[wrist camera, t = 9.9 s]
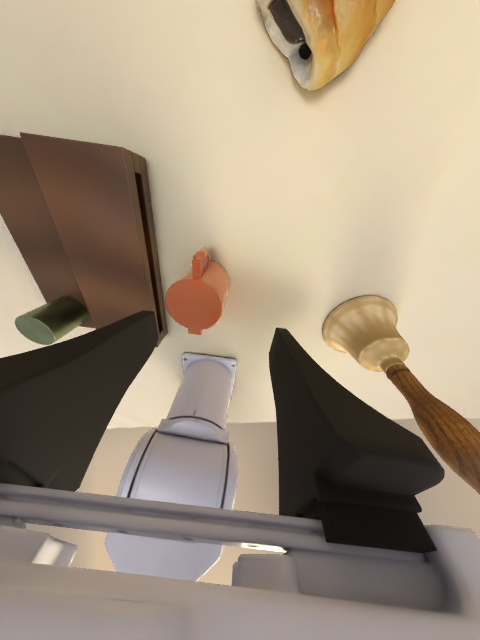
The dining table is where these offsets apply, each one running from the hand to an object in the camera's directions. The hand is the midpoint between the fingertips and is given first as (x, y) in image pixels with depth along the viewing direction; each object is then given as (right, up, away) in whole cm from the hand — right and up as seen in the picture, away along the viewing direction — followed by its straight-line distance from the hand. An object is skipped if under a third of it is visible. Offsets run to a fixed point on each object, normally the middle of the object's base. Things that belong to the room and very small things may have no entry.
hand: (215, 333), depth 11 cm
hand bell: (+16, 0, +11) cm, 20 cm away
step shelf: (-14, +7, +9) cm, 18 cm away
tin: (-19, +2, +11) cm, 22 cm away
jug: (-2, +5, +9) cm, 11 cm away
